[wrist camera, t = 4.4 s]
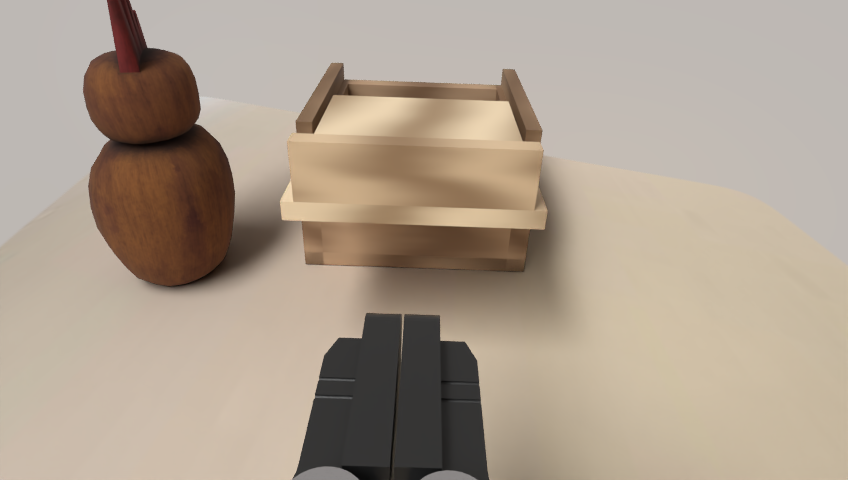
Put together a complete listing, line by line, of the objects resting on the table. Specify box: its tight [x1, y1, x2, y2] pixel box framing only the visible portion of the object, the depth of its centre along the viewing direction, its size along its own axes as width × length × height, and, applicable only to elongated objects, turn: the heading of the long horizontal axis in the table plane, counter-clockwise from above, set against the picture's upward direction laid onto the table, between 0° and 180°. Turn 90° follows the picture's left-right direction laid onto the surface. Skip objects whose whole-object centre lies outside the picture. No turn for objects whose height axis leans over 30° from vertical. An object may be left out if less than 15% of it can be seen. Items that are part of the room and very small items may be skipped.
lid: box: [280, 95, 548, 230], centre depth 26 cm, size 10×13×3 cm
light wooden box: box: [296, 63, 542, 272], centre depth 34 cm, size 12×13×8 cm
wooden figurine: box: [83, 0, 235, 286], centre depth 26 cm, size 7×6×15 cm
